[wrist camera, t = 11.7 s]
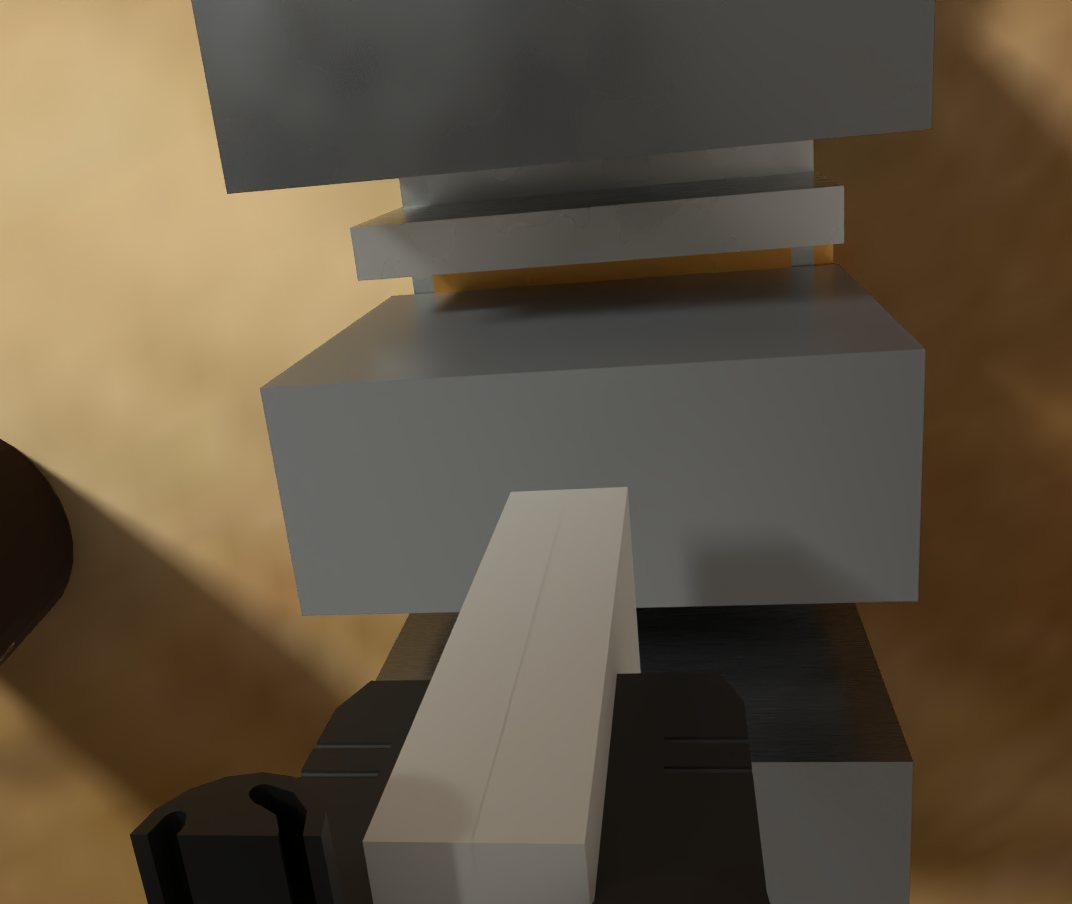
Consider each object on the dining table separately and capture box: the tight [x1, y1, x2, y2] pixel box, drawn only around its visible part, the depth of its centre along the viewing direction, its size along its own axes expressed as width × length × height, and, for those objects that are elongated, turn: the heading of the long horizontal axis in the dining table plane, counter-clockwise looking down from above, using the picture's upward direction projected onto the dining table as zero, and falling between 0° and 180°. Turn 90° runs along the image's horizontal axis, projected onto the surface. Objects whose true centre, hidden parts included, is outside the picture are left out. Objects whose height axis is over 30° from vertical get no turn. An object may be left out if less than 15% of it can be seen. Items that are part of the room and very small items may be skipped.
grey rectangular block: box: [260, 264, 926, 616], centre depth 19 cm, size 4×10×8 cm, turn 95°
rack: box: [191, 0, 935, 904], centre depth 20 cm, size 23×10×9 cm, turn 6°
